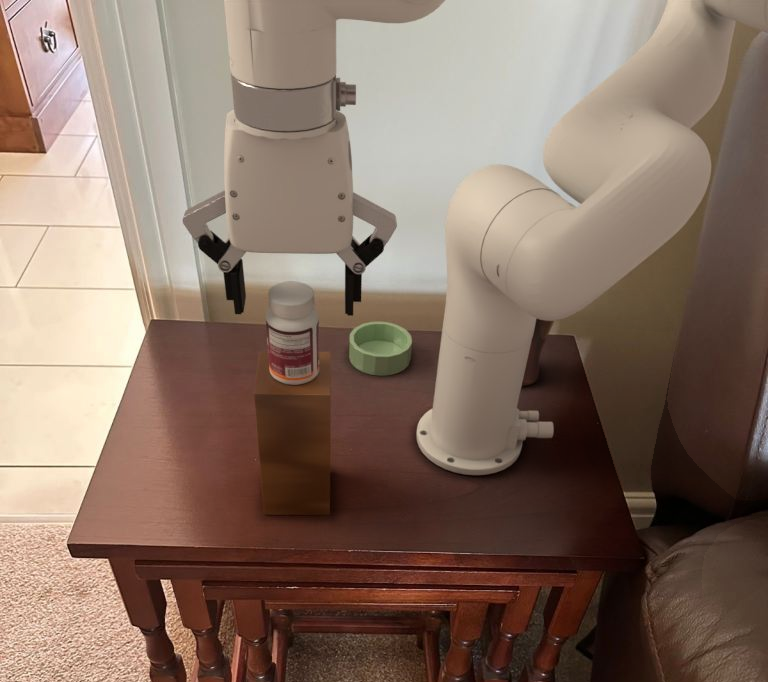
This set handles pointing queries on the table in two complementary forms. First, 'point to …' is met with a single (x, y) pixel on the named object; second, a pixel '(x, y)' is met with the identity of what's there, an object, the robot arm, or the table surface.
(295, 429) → the pedestal
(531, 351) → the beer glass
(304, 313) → the pill bottle
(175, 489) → the table surface
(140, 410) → the table surface
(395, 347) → the bowl
